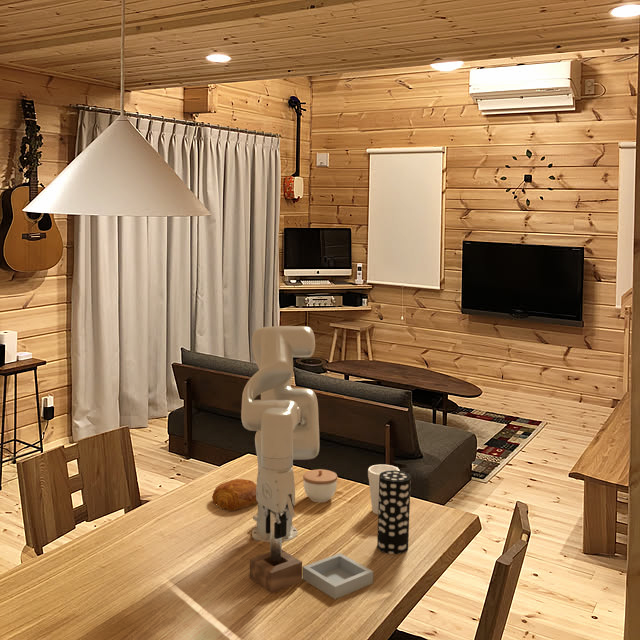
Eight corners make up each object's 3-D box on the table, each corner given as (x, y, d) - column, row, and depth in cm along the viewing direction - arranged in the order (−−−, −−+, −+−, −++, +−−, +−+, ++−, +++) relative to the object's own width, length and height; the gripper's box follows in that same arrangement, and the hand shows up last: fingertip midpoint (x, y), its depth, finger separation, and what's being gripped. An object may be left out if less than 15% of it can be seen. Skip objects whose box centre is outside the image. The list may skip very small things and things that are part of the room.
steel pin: (267, 557, 172) (268, 510, 170) (277, 554, 174) (277, 507, 172) (274, 562, 170) (274, 514, 168) (283, 558, 172) (284, 511, 170)
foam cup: (377, 519, 211) (378, 477, 209) (361, 508, 219) (362, 467, 217) (404, 513, 215) (405, 472, 213) (387, 502, 223) (388, 462, 221)
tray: (302, 582, 173) (302, 566, 173) (339, 567, 181) (340, 552, 180) (334, 603, 164) (335, 586, 163) (372, 586, 172) (373, 571, 171)
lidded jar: (299, 493, 229) (300, 465, 228) (331, 491, 232) (332, 463, 231) (306, 506, 219) (307, 477, 218) (340, 504, 222) (341, 474, 220)
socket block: (249, 582, 173) (249, 558, 172) (279, 571, 179) (279, 548, 178) (271, 597, 166) (271, 573, 165) (301, 585, 172) (302, 561, 171)
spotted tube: (406, 555, 188) (409, 482, 185) (375, 552, 190) (377, 480, 187) (409, 542, 196) (411, 472, 193) (379, 538, 198) (381, 469, 195)
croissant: (269, 508, 223) (272, 483, 223) (231, 516, 211) (235, 489, 211) (238, 494, 232) (241, 470, 232) (200, 501, 221) (203, 476, 220)
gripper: (244, 454, 172) (243, 526, 175) (284, 474, 160) (283, 551, 162) (269, 448, 177) (268, 518, 180) (310, 467, 164) (309, 542, 167)
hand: (276, 533), depth 171 cm, fingers closed on steel pin, 2 cm apart
